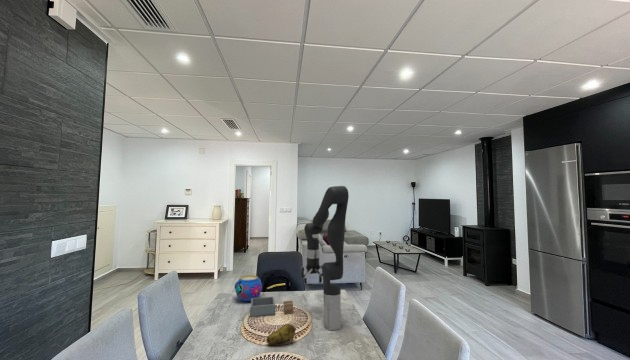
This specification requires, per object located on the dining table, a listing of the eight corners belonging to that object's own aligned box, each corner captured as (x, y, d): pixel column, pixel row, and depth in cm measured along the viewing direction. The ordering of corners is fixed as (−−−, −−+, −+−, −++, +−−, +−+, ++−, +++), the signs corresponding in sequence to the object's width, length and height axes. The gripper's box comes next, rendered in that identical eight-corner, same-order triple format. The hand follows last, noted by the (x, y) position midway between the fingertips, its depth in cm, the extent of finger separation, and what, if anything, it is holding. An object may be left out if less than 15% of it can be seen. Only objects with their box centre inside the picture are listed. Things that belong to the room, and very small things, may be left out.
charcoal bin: (275, 315, 155) (275, 304, 156) (250, 317, 153) (250, 306, 153) (273, 306, 169) (273, 296, 170) (251, 308, 166) (251, 298, 167)
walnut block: (293, 313, 157) (293, 303, 158) (284, 314, 156) (284, 304, 157) (291, 310, 162) (291, 300, 163) (283, 311, 161) (283, 301, 162)
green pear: (270, 337, 130) (270, 320, 130) (296, 338, 128) (296, 321, 129) (265, 346, 122) (265, 328, 122) (293, 348, 120) (293, 330, 121)
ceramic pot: (233, 297, 185) (233, 275, 186) (258, 294, 192) (258, 272, 193) (237, 306, 169) (237, 282, 170) (264, 302, 176) (264, 279, 177)
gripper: (302, 258, 152) (302, 286, 152) (326, 257, 155) (326, 285, 155) (300, 255, 160) (300, 281, 160) (323, 253, 163) (323, 280, 163)
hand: (312, 283), depth 158 cm, fingers open, 8 cm apart
